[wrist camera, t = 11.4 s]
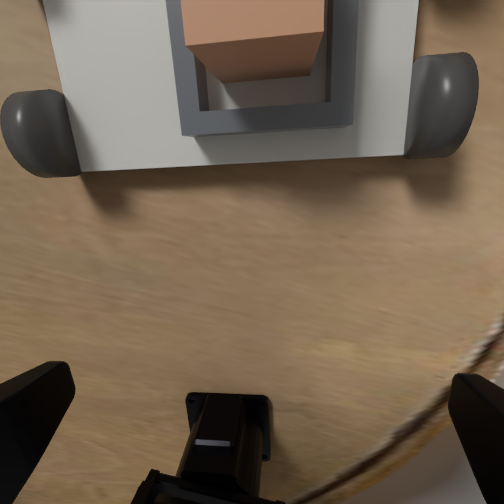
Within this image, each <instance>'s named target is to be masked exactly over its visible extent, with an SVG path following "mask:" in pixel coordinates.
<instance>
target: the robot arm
mask: <svg viewBox="0 0 504 504" xmlns="http://www.w3.org/2000/svg"><path fill="white" fill-rule="evenodd" d="M74 395H75V384H74V381H73V377H72V374H71V371H70V367H69V365H68V364H67V363H66V362H64V361H49V362H46V363H44V364H41V365H39V366H37V367H35V368H33V369H31V370H29V371H27V372H24V373H22V374H20V375H18V376H16V377H14V378H12V379H10V380H7V381H5V382H3V383H1V384H0V504H12V503H13V502H14V500H15V499H16V497H17V495H18V494H19V492H20V491H21V489H22V488H23V486H24V485H25V483H26V482H27V480H28V478H29V477H30V475H31V474H32V472H33V471H34V469H35V467H36V466H37V464H38V462H39V461H40V459H41V457H42V455H43V454H44V452H45V450H46V448H47V446H48V445H49V443H50V441H51V439H52V437H53V435H54V433H55V432H56V430H57V428H58V426H59V424H60V422H61V421H62V419H63V417H64V415H65V413H66V411H67V409H68V408H69V406H70V404H71V402H72V400H73V398H74ZM192 399H193V400H192ZM185 402H186V408H187V414H188V421H189V427H190V435H189V438H188V441H187V444H186V447H185V450H184V453H183V456H182V458H181V461H180V464H179V467H178V470H177V473H176V476H171V475H167V474H163V473H160V471H158V470H154V469H151V470H150V472H149V474H148V476H147V478H146V480H145V481H142V483H141V485H140V486H139V487H138V489H137V492H136V494H135V496H134V498H133V500H132V502H131V504H285V502H282V501H278V500H276V502H275V501H271V500H267V499H263V498H259V490H260V477H261V465H262V461H268V460H269V459H270V454H271V451H270V430H269V409H268V398H267V397H266V396H264V395H248V394H223V393H198V392H191V393H188V395H187V397H186V400H185ZM261 402H263V403H261ZM448 410H449V414H450V417H451V419H452V422H453V424H454V427H455V429H456V432H457V434H458V436H459V439H460V441H461V444H462V446H463V448H464V451H465V454H466V456H467V459H468V461H469V464H470V466H471V468H472V471H473V473H474V476H475V478H476V480H477V483H478V485H479V488H480V490H481V492H482V495H483V497H484V499H485V501H486V503H487V504H504V389H502V388H501V387H499V386H497V385H496V384H494V383H492V382H490V381H489V380H487V379H485V378H484V377H482V376H480V375H478V374H474V373H457V374H455V375H454V377H453V379H452V385H451V390H450V395H449V400H448Z"/></svg>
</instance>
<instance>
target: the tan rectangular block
mask: <svg viewBox="0 0 504 504" xmlns="http://www.w3.org/2000/svg"><path fill="white" fill-rule="evenodd" d="M181 9H182V19H183V28H184V37H185V46H186V47H187V48H188V49H189V50H190V51H191V52H192V53H193V54H194V55H195V56H196V57H197V58H198V59H199V60H200V61H201V62H202V63H203V64H204V65H205V66H206V67H207V68H208V69H209V70H210V71H211V72H212V73H213V74H214V75H215V76H216V77H217V78H218V79H219V80H220V81H221V82H222V83H232V82H244V81H255V80H267V79H278V78H290V77H301V76H310V73H311V70H312V67H313V64H314V61H315V57H316V54H317V51H318V48H319V45H320V42H321V38H322V35H323V32H324V0H181Z"/></svg>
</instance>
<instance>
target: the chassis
mask: <svg viewBox="0 0 504 504" xmlns="http://www.w3.org/2000/svg"><path fill="white" fill-rule="evenodd" d="M418 3H419V0H324V32H323V35H322V38H321V42H320V45H319V48H318V51H317V54H316V57H315V61H314V64H313V67H312V70H311V73H310V76H301V77H290V78H278V79H267V80H255V81H244V82H232V83H222V82H221V81H220V80H219V79H218V78H217V77H216V76H215V75H214V74H213V73H212V72H211V71H210V70H209V69H208V68H207V67H206V66H205V65H204V64H203V63H202V62H201V61H200V60H199V59H198V58H197V57H196V56H195V55H194V54H193V53H192V52H191V51H190V50H189V49H188V48H187V47H186V46H185V37H184V28H183V19H182V9H181V0H43V5H44V9H45V14H46V18H47V23H48V27H49V31H50V36H51V40H52V45H53V49H54V53H55V58H56V62H57V67H58V71H59V75H60V80H61V84H62V89H63V93H64V95H63V94H62V93H60V92H58V91H55V90H51V89H48V90H36V91H25V92H17V93H13V94H11V95H10V96H9V97H8V98H7V99H6V100H5V101H4V103H3V106H2V109H1V115H0V124H1V130H2V134H3V137H4V140H5V143H6V145H7V147H8V149H9V151H10V152H11V154H12V155H13V157H14V158H15V160H16V161H17V162H18V163H19V164H20V165H21V166H22V167H23V168H24V169H25V170H27V171H28V172H30V173H31V174H33V175H35V176H38V177H42V178H53V177H72V176H78V175H80V174H81V173H83V172H89V171H108V170H127V169H145V168H164V167H183V166H202V165H221V164H240V163H259V162H277V161H296V160H315V159H334V158H353V157H372V156H391V155H402V156H403V157H404V158H406V159H424V158H443V157H448V156H450V155H451V154H453V153H454V152H455V151H456V150H457V149H458V148H459V146H460V145H461V144H462V142H463V140H464V139H465V137H466V135H467V133H468V131H469V128H470V126H471V123H472V120H473V117H474V114H475V110H476V105H477V99H478V90H479V78H478V70H477V66H476V63H475V61H474V59H473V57H472V56H471V55H470V54H468V53H466V52H460V53H448V54H437V55H426V56H421V57H419V58H418V59H416V60H415V62H414V63H413V53H414V43H415V33H416V23H417V13H418ZM412 63H413V64H412Z"/></svg>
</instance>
